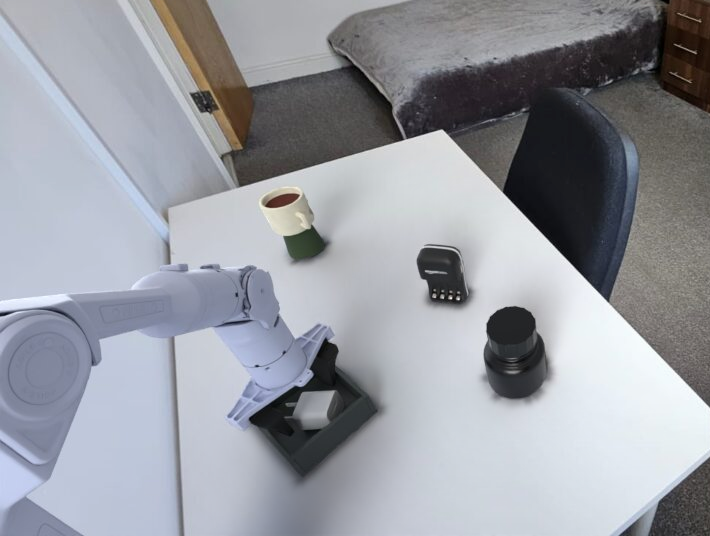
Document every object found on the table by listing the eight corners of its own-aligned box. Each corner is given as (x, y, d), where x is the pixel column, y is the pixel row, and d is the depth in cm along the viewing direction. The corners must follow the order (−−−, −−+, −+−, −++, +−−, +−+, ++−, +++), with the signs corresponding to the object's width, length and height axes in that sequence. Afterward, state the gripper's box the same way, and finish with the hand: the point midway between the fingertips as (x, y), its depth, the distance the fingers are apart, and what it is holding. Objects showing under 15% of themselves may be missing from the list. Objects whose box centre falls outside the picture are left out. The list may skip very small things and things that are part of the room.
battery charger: (425, 304, 82) (410, 257, 74) (433, 288, 85) (419, 241, 77) (464, 308, 81) (453, 261, 74) (470, 292, 84) (461, 245, 77)
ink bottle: (558, 360, 74) (556, 311, 66) (534, 409, 67) (529, 361, 60) (502, 342, 76) (494, 292, 68) (475, 388, 70) (462, 339, 62)
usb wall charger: (335, 430, 64) (325, 415, 61) (283, 433, 64) (270, 418, 61) (344, 403, 67) (335, 388, 64) (294, 405, 67) (283, 390, 64)
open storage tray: (302, 477, 60) (288, 462, 57) (254, 423, 65) (239, 406, 62) (377, 411, 67) (368, 394, 64) (328, 367, 72) (318, 349, 69)
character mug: (342, 250, 92) (318, 197, 83) (309, 272, 87) (280, 218, 78) (307, 231, 96) (281, 178, 87) (274, 251, 91) (243, 197, 83)
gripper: (238, 412, 49) (290, 468, 58) (337, 310, 59) (368, 371, 68) (188, 391, 51) (246, 448, 60) (293, 296, 61) (328, 357, 70)
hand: (308, 406), depth 64 cm, fingers open, 7 cm apart
